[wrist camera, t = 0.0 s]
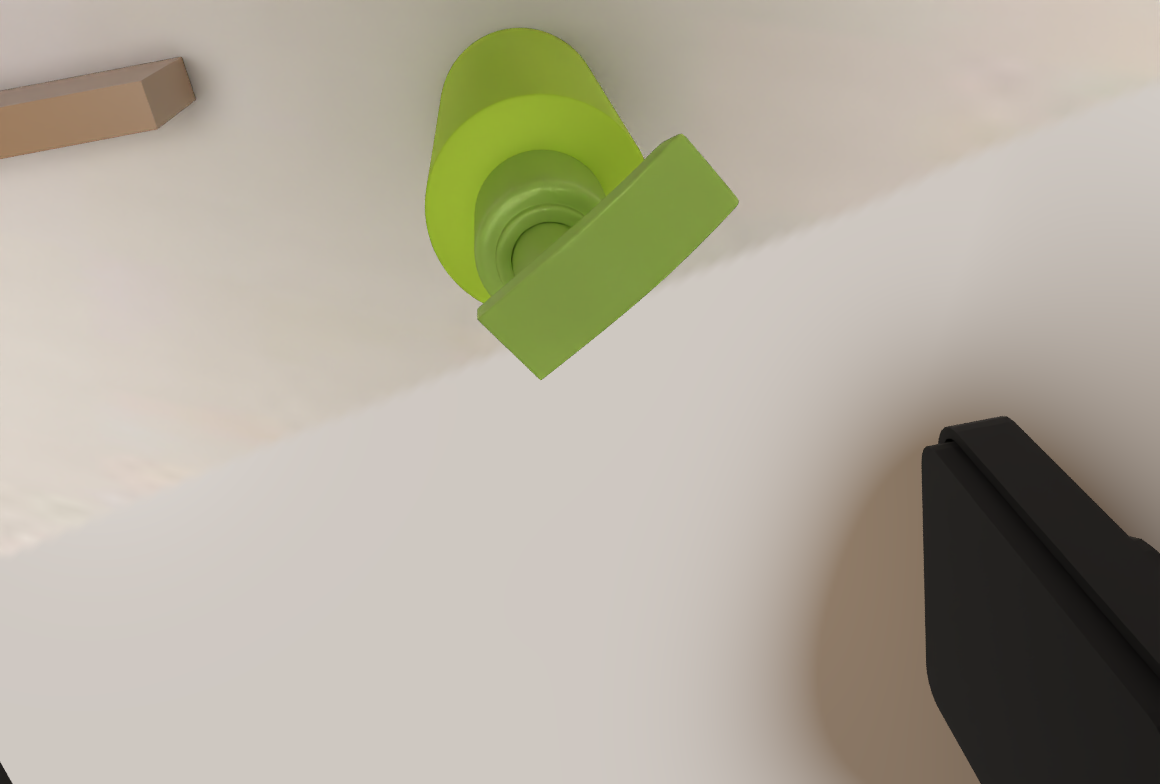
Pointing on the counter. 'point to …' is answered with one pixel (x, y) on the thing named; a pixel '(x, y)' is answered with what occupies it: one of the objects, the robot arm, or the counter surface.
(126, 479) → the counter surface
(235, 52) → the counter surface
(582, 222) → the soap dispenser
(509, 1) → the counter surface
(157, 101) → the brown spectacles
